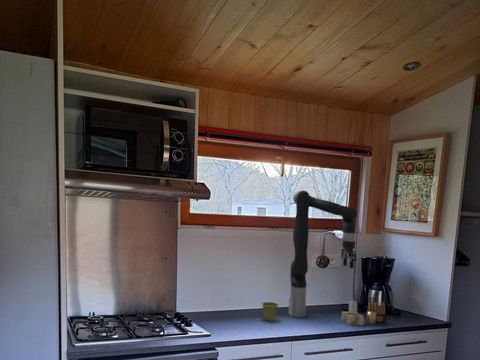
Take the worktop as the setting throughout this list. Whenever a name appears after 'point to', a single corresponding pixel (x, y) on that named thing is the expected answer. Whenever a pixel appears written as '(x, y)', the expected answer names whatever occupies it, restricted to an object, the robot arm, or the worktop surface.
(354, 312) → the square bit
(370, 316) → the round bit
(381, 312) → the ammunition clip
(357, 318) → the bit holder
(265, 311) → the plant pot
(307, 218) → the robot arm
